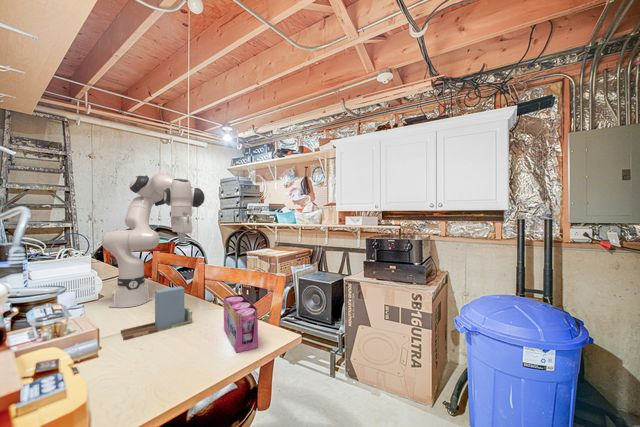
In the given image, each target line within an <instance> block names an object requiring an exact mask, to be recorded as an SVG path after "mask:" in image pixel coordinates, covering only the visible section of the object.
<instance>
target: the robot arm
mask: <svg viewBox="0 0 640 427" xmlns="http://www.w3.org/2000/svg"><path fill="white" fill-rule="evenodd" d="M191 184H192V183H191V181H190V180H188V179H185V178H184V179H183V178H174V177H172V176H171V175H169V174H168V173H164V172H158V173H155V174H154V175H153V176H152V177H149V176H148V175H136V176H134V178H132V180H131V181H130V183H129V189H130V191H131V192H133V193H134V194H137V195H138V196H136V197H135V198H133V199H132V201H131V202H130V204H129V207H128V209H127V211H126V216H125V218H124V223H125V225H126V227H128V228H129V229H116V230H111V231H106V232H105V233H104V234H103V235H102V236H101V240H100V241H101V246H102V247H103V249H105V251H108V252H109V253H111V255H112V256H113V257H114V258H115V260H116V262H117V268H118V278H117V281H116V283H117V287H116V288H115V289H114V291H112V293H111V296H112V297H113V298H112V300H111V302H109V305H108V308H131V307H136V306H141V305H143V304H146V303H147V302H150V301H152V300H153V297H151V296H149V285H148V284H147V283H145V282H146V276H145V262H144V260H143V259H141V258H140V257H137V256H135V255H134V254H133V252H132V251H148V250H153V249H155V248H157V247H158V245H159V244H160V241H161V240H160V235H159V234H158V232H157V231H156V230H153V229H152V228H151V226H150V218H151V213H152V207H153V206H155V207H159V206H163V205H165V204H166V206H169V207H170V212H169V217H170V224H171V225H170V226H171V228H170V229H171V232H173V233H177V238H178V243H185V238H186V234H192V233H193V222H192V218H191V217H192V215H193V212H192V211H193V208H199V207H200V206H203V204H204V202H205V193H204V191H203V190H202V189H201V188H200V187H192V185H191ZM192 207H193V208H192Z"/></svg>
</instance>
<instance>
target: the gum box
mask: <svg viewBox="0 0 640 427" xmlns="http://www.w3.org/2000/svg"><path fill="white" fill-rule="evenodd" d="M258 316H259V314H258V308H257V307H256V306H255V305H254V304H253V303H252V302H251V301H250V300H248V298H246V297H245V295H244V294H242V293H241V294H234V295H227V296H223V329H224V332H225V334H226V335H227V338H228V339H229V342H230V343H231V345H232V348H233V349H234V351H235V353H241V352H246V351H250V350H254V349H258V348H259V322H258V321H259V320H258V318H259V317H258Z"/></svg>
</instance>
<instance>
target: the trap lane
mask: <svg viewBox="0 0 640 427" xmlns="http://www.w3.org/2000/svg"><path fill="white" fill-rule="evenodd" d="M191 324H193V311H192V310H191V309H190V308H188V307H187V306H185V305H184V322H182V323H178V324H174V325H171V327H168V328H164V329H160V330H158V329H157V328H156V327H155V321H154V322H150V323H146V324H141V325H137V326H133V327H128V328H123V329H121V330H120V334H121V337H122V340H123V341H128V340H131V339H136V338H140V337H144V336H148V335H151V334H156V333H160V332H164V331H168V330H171V329H175V328H178V327H179V328H180V327H183V326H188V325H191Z"/></svg>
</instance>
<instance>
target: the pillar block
mask: <svg viewBox="0 0 640 427" xmlns="http://www.w3.org/2000/svg"><path fill="white" fill-rule="evenodd" d="M184 307H185V287H183V286H182V285H180V286H179V285H178V286H173V287H169V288H168V287H167V288H161V289H156V290H154V322H155V327H156V328H157V329H158V330H160V329H164V328H168V327H171V325H174V324H178V323H182V322H184Z"/></svg>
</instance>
